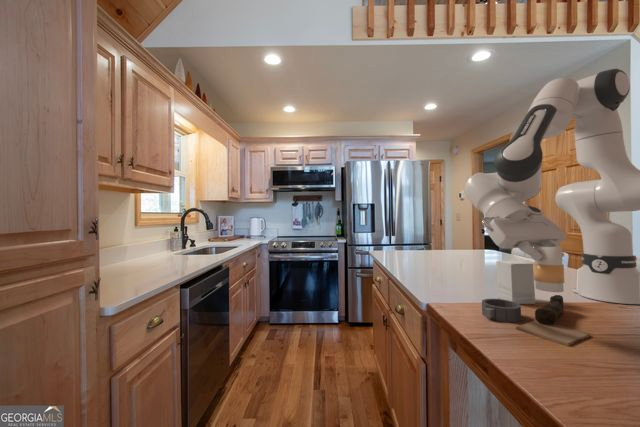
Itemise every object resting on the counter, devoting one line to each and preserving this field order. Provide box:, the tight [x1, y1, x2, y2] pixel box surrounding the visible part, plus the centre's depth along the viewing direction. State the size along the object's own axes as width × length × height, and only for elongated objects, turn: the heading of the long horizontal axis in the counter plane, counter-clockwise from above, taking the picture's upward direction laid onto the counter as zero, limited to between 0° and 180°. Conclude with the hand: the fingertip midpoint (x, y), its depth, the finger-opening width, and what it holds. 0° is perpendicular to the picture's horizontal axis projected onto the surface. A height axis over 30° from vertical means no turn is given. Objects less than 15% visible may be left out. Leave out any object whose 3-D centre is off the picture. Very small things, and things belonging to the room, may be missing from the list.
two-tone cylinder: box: [533, 246, 565, 293], centre depth 63 cm, size 5×5×10 cm
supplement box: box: [495, 259, 536, 305], centre depth 88 cm, size 7×7×13 cm
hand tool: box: [534, 294, 565, 325], centre depth 71 cm, size 19×4×5 cm, turn 127°
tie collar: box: [481, 298, 522, 323], centre depth 74 cm, size 10×9×4 cm
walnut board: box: [515, 319, 591, 347], centre depth 63 cm, size 10×10×1 cm
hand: (550, 258), depth 63 cm, fingers closed on two-tone cylinder, 5 cm apart
